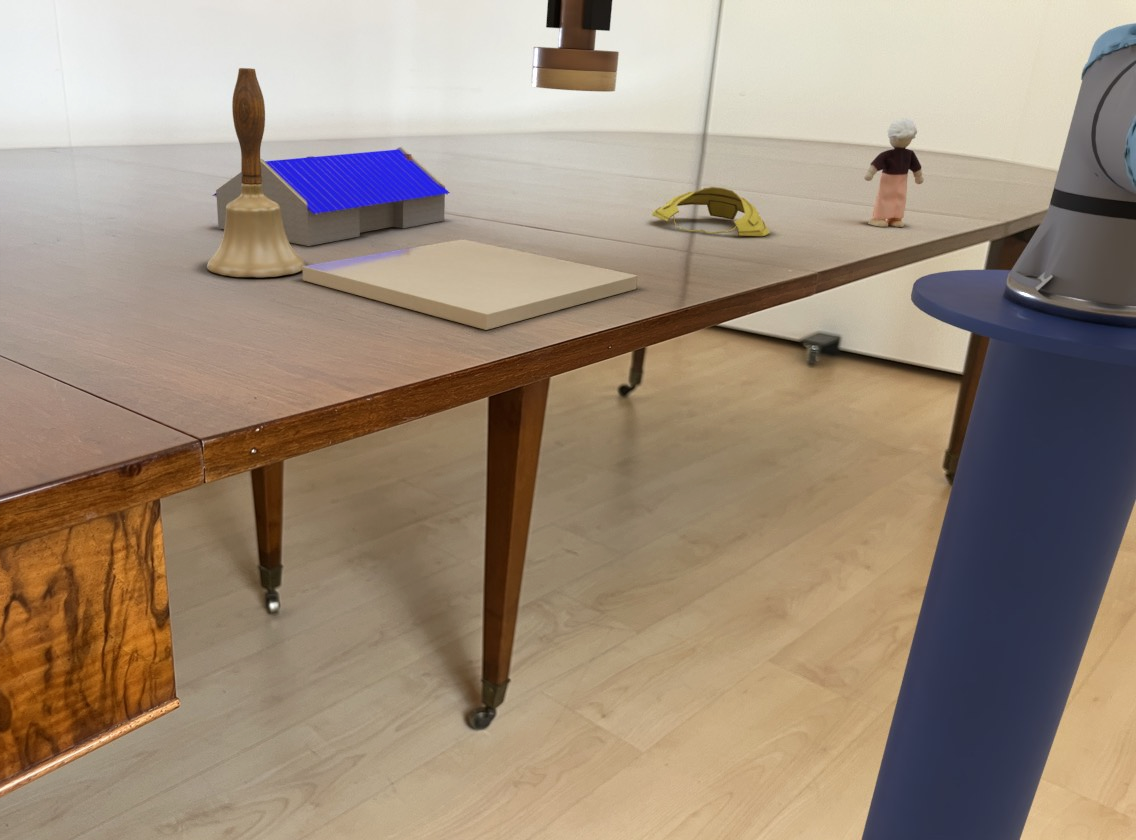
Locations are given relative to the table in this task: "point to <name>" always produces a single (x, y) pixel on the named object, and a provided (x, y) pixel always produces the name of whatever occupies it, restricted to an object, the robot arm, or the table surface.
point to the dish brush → (574, 57)
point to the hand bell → (252, 200)
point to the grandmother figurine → (894, 174)
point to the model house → (345, 194)
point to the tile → (471, 281)
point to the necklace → (718, 210)
